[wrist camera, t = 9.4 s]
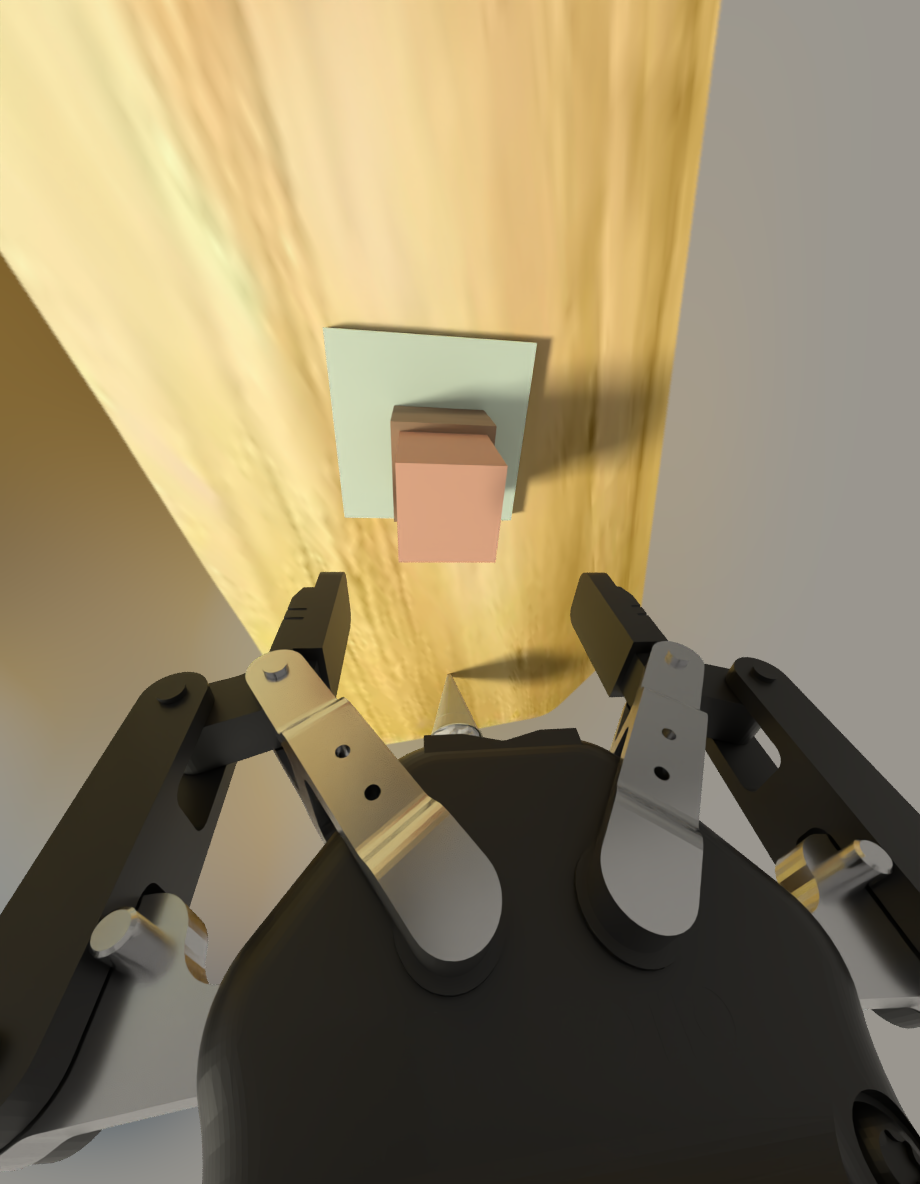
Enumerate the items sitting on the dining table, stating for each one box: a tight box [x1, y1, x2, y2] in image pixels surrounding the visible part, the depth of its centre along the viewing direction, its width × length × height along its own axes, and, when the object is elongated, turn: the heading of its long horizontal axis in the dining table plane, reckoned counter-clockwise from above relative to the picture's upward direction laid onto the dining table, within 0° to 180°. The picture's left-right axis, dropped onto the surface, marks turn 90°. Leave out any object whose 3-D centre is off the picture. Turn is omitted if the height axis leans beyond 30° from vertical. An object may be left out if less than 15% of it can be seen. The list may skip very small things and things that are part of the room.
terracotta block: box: [395, 431, 508, 562], centre depth 21 cm, size 5×5×6 cm
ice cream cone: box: [431, 674, 483, 737], centre depth 36 cm, size 5×5×15 cm
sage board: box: [323, 327, 537, 520], centre depth 27 cm, size 12×13×1 cm
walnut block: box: [390, 406, 497, 522], centre depth 25 cm, size 6×6×5 cm
